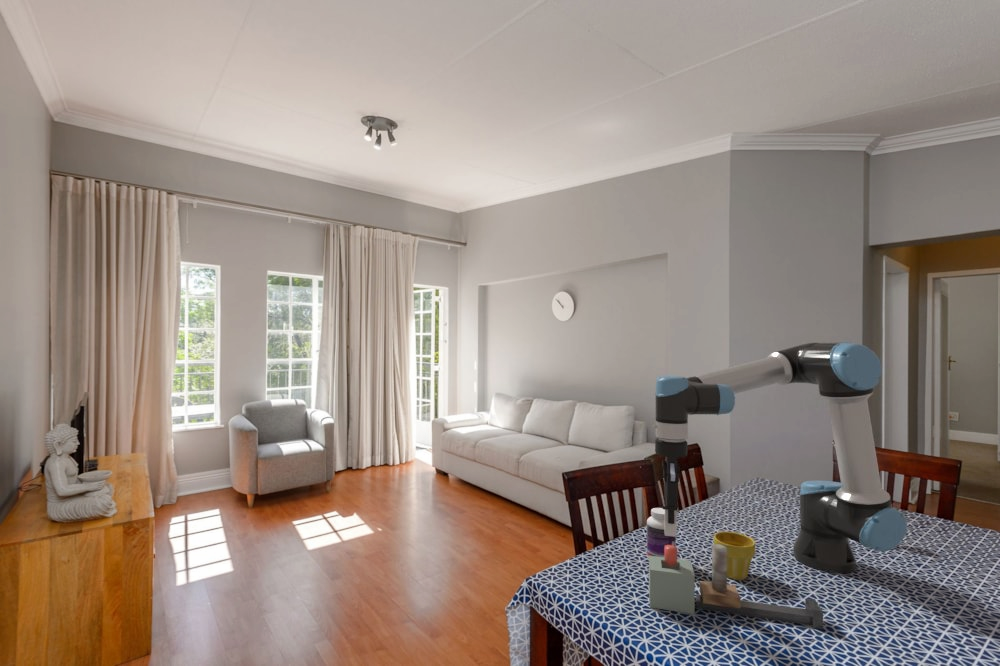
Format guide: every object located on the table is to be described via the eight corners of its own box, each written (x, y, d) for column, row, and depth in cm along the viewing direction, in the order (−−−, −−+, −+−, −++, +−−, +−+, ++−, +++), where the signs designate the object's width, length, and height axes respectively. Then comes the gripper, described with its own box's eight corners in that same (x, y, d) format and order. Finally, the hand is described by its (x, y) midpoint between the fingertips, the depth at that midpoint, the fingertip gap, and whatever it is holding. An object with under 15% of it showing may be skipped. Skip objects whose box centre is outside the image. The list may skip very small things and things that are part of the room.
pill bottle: (677, 568, 136) (677, 517, 137) (648, 565, 138) (648, 514, 138) (673, 555, 144) (673, 507, 144) (645, 553, 146) (645, 505, 146)
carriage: (735, 595, 118) (735, 544, 118) (740, 608, 112) (740, 554, 112) (699, 590, 120) (699, 540, 120) (703, 603, 114) (703, 550, 114)
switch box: (690, 596, 121) (690, 560, 121) (694, 613, 114) (694, 575, 114) (648, 590, 124) (649, 555, 124) (649, 607, 116) (650, 569, 116)
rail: (814, 617, 113) (814, 599, 113) (823, 629, 108) (823, 611, 108) (695, 600, 120) (695, 584, 120) (698, 611, 115) (698, 594, 115)
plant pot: (758, 586, 127) (758, 549, 127) (715, 579, 130) (715, 542, 130) (752, 569, 136) (752, 534, 136) (712, 562, 140) (712, 529, 140)
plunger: (676, 561, 120) (676, 545, 120) (677, 567, 117) (677, 550, 117) (664, 560, 121) (664, 544, 121) (664, 565, 118) (664, 549, 118)
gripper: (654, 433, 127) (653, 523, 126) (656, 443, 114) (655, 543, 114) (684, 435, 125) (683, 527, 124) (690, 445, 112) (689, 547, 112)
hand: (670, 534), depth 119 cm, fingers closed
